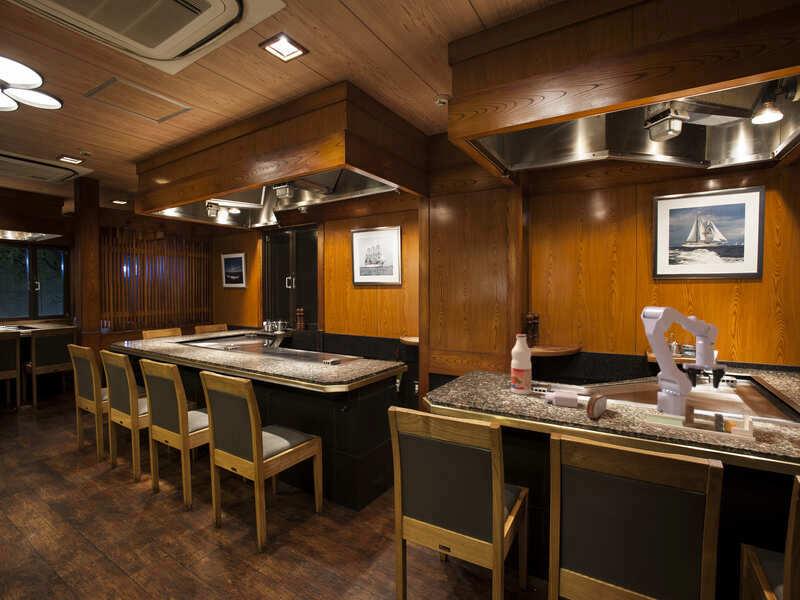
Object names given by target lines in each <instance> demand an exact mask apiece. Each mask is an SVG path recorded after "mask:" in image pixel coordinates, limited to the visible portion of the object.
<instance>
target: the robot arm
mask: <svg viewBox="0 0 800 600" xmlns="http://www.w3.org/2000/svg"><path fill="white" fill-rule="evenodd" d="M640 319H641V320H642V323H643V326H644V332H645V336H646V337H647V340H648V342H649V346H650V348H651V350H652V352H653V355H654V357H655V360H656V361H657V362H656V363H657V364H658V366H659V370H660V371H659V373H657V378H658V386H659V388H660V389H661V391H657V405H656V411H657V413H662V414H668V415H672V416H685V403H687V396H688V395H689V394H690V393H691V391H692V389H693V388H696V387H697V375H698V371H697V370H711V372H712V387H713V388H714V389H719V386H720V383H721V380H722V379H723V377H724V376H725V375H726V371H728V365H726V364H717V363H716V364H715V343H716V342H717V337H718V336H719V330H718V328H717V326H716V325H715V324H712V323H707V322H706V321H705V320H700V319H699V318H698V317H697V316H696V315H691V316H686V315H684V314H683V313H681V312H680V311H677V309H676V308H673V307H671V306H665V307H664V306H649V305H648V306H646V307H644V308H643V310H642V312H641V315H640ZM673 323H677V324H679V325H680V326H682V329H683V330H686V331H688V332H689V333H692V335H693V337H695V339H696V342H695V344H696V345H695V363H694V362H693V363H689V362H688V363H685V362H684V363H682V369H684V370H685V373H684V372H683V371H682V370H680V369H679V368H678V366H677V364H676V360H675V359H674V356H673V354H672V351H671V349H670V345H669V344H668V341H667V339H666V337H665V335H664V334H665V333H666V332H668V330H670V327H671V326H672V325H673ZM687 376H688V377H687Z"/></svg>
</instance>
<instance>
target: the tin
mask: <svg viewBox="0 0 800 600" xmlns="http://www.w3.org/2000/svg"><path fill="white" fill-rule="evenodd" d="M607 402H608V396H607V395H606V394H603V393H599V392H598V393H596V394H594V395H591V396H590V397H589V399H588V401H587V405H586V417H588V418H589V419H590V418H591V419H593V420H596V419H599V418H600V417H602V416H603V415H604V413H605V411H606V410H607ZM598 417H599V418H598Z"/></svg>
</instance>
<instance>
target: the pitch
mask: <svg viewBox="0 0 800 600" xmlns="http://www.w3.org/2000/svg"><path fill="white" fill-rule="evenodd" d="M742 414H743V415H742V416H743V417H742V419H743V420H737V419H728V420H727V422H729V421H730V422H734V423H735V424H736V425H737V427H738V428H735V427H732V433H730V432H727V431H726V430H725V429H724V424H725V423H723V432H722V431H715V430H709V429H702V428H695V427H689V426H682V420H683V421H685V417H681V416H679V417H678V416H675V415H665V414H659V413H658V414H657V413H652V412H646V413H645V420H644V426H645V425H646V426H651V427H656V428H657V427H658V428H663V429H671V430H676V431H684V432H688V433H697V434H701V435H709V436H715V437H722V438H728V439H734V440H740V441H747V442H754V443H756V437H753V436H754V421H753V419H752V418H751V416H750V414H748V413H747V412H743V413H742ZM694 422H696V423H703V424H710V425H714V421H709V420H708V421H707V420H700V419H695V418H694Z"/></svg>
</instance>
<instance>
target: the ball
mask: <svg viewBox="0 0 800 600" xmlns="http://www.w3.org/2000/svg"><path fill="white" fill-rule="evenodd" d="M723 424H724V429H725V430H726V431H727V432H730V433H732V427H735V428H738V427H737V425H736V424H735V423H734V422H730V421H729V422H728V421H726V422H724V423H723Z"/></svg>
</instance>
